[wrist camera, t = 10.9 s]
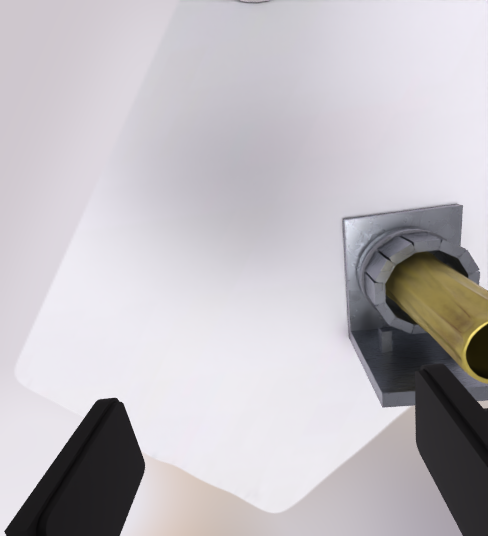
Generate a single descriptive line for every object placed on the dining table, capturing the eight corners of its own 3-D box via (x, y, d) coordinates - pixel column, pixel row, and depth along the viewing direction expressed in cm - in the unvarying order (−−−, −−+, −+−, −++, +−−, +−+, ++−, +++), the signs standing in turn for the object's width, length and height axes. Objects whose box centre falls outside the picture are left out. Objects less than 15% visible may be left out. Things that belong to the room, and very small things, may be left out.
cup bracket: (342, 219, 35) (379, 244, 24) (457, 204, 34) (554, 223, 22) (349, 337, 40) (382, 407, 28) (450, 328, 38) (528, 397, 27)
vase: (389, 243, 33) (477, 299, 19) (448, 253, 33) (578, 317, 19) (372, 296, 35) (440, 382, 21) (427, 306, 34) (531, 399, 21)
